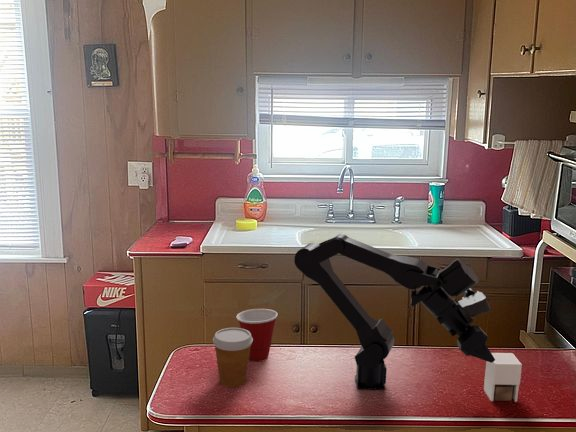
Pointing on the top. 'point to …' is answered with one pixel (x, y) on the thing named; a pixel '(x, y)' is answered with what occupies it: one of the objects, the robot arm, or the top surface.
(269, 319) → the plastic cup
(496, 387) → the walnut block
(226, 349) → the disposable coffee cup
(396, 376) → the top surface
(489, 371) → the white notched block
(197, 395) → the top surface
